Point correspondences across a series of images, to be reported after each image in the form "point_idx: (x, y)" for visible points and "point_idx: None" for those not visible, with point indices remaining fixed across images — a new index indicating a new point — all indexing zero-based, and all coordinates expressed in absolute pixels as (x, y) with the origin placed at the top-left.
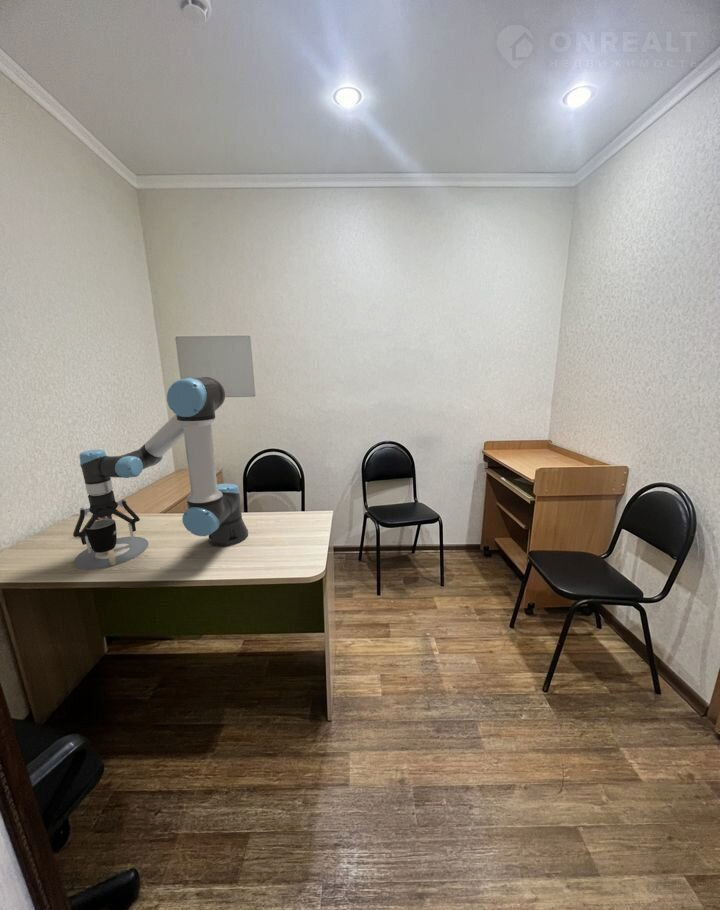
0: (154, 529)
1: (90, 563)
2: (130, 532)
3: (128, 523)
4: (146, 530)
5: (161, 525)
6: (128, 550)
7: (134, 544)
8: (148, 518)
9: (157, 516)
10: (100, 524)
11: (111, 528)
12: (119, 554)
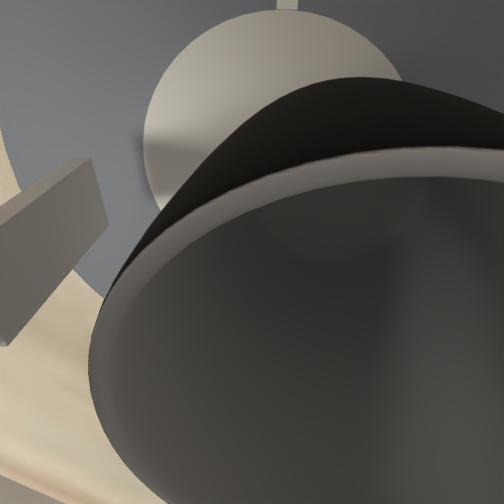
0: (34, 358)
1: (495, 9)
2: (44, 213)
3: (2, 338)
4: (81, 373)
5: (2, 381)
6: (152, 78)
7: (113, 180)
8: (92, 483)
9: (50, 478)
10: (344, 475)
11: (182, 187)
12: (228, 35)
